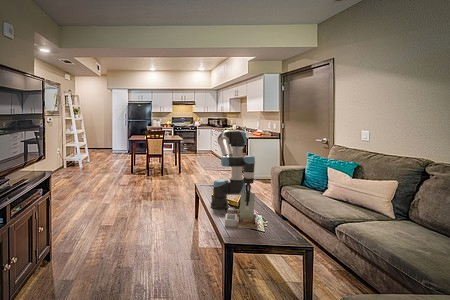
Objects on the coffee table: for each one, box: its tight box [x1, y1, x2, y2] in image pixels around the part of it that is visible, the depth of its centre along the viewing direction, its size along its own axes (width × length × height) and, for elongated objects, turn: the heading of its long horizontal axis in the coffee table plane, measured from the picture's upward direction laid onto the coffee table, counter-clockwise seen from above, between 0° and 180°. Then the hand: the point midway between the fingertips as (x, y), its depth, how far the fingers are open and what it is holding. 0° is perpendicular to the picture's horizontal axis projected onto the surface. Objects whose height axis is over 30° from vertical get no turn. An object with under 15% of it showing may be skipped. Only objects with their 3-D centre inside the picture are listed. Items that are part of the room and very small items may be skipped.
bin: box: [224, 213, 237, 228], centre depth 241 cm, size 14×8×5 cm, turn 177°
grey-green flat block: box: [239, 191, 256, 220], centre depth 242 cm, size 3×10×20 cm, turn 87°
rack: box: [236, 212, 258, 229], centre depth 240 cm, size 14×14×6 cm
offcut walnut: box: [239, 220, 255, 225], centre depth 237 cm, size 4×9×2 cm, turn 101°
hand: (247, 209), depth 243 cm, fingers closed on grey-green flat block, 3 cm apart
